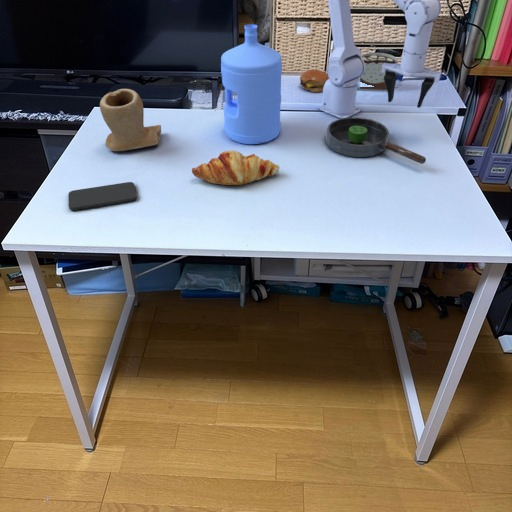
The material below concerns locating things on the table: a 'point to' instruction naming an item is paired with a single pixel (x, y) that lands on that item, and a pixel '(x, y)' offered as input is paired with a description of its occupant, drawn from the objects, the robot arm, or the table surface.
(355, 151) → the pan
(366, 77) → the food container
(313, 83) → the burger
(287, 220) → the table surface
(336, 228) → the table surface
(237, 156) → the croissant
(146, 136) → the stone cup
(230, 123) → the water jug
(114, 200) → the phone
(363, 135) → the green short cylinder
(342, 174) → the table surface
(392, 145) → the pan handle
